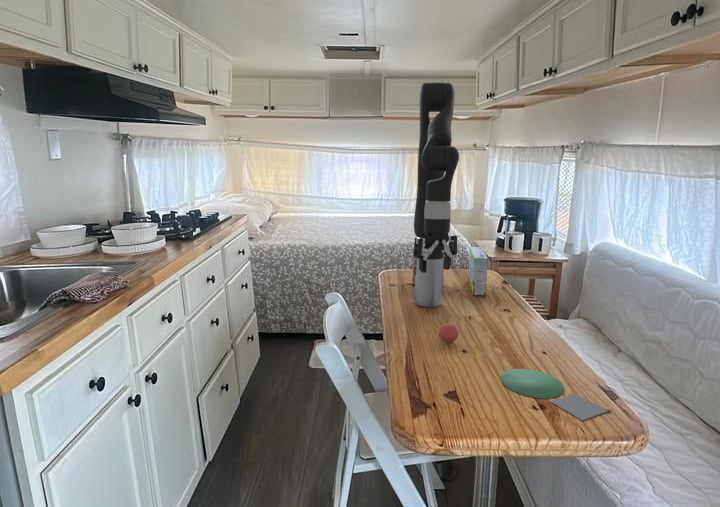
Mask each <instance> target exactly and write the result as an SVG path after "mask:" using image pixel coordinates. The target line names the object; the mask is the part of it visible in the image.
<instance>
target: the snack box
mask: <svg viewBox="0 0 720 507" xmlns="http://www.w3.org/2000/svg"><path fill="white" fill-rule="evenodd" d="M468 253H469V255H468V275H467V276H468V279H467V280H468V281H469V282H468V284H470V285H469V288H470V291H472V292H471V295H472V294H473V295H472V296H476V295H482V297H483V296H484V297H486V295H487V282H488V281H487V280H488V267H489V265H488V262H489V258H488V256H487V255H486V252H485V251H484V249H483V248H482V247H481V246H469V252H468Z"/></svg>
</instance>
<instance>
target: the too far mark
mask: <svg viewBox="0 0 720 507" xmlns="http://www.w3.org/2000/svg"><path fill="white" fill-rule="evenodd" d="M550 403H552V404H553V405H554V406H557V407H558V408H559V409H561V410H563V411H565V412H567V413H568V414H570V415H571V416H573V417H574V418H576V419H578V420H580V421H582V422H584V421H587V420H590V419H592V418H595V417H597V416H600V415H603V414H605V413H609V410H607V409H605V408H603V407H602V406H600V405H598V404H596V403H594V402H592V401H591V400H588V399H587V398H585V397H583V396H581V395H579V394H578V393H573V394H570V395H567V396H563V397H559V398H557V399H554V400H551V401H550Z"/></svg>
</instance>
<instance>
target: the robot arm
mask: <svg viewBox="0 0 720 507" xmlns="http://www.w3.org/2000/svg"><path fill="white" fill-rule="evenodd" d="M453 85H454V84H452V83H450V82H444V81H442V82H434V81H433V82H431V81H430V82H422V84H421V86H420V92H419V139H418V140H419V141H418V142H419V144H418V153H417V154H418V156H417V187H416V188H417V190H416V200H415V209H414V217H413V231H414V235H415V237H414V245H413V255H412V257H413V256H414V257H415V258H417V271H416V276H415V286H414V289H413V290H414V291H413V301H414V300H415V301H414V304H416V305H418V306H420V307H423V308H424V307H425V308H434V307H439V306H441V304H442V291H443V289H442V287H443V286H442V276H443V269H444V271H449V270H450V268H451V267H452V258H453V256H457V254H458V236H457V235H455V234H451V233H450V231H451V217H452V216H451V215H452V214H451V212H452V207H451V194H452V184H453V179H454V176H455V175H454V174H455V172H456V170H457V167H458V165H459V160H460V154H459V150H458V149H457V148H456V147H455V146H453V145H452V142H453V141H452V122H453V116H454V108H455V107H454V106H455V87H454V86H453ZM430 113H437V114H436V115H435V116H434V117H433V118H432V119H430ZM443 258H444V261H443Z"/></svg>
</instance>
